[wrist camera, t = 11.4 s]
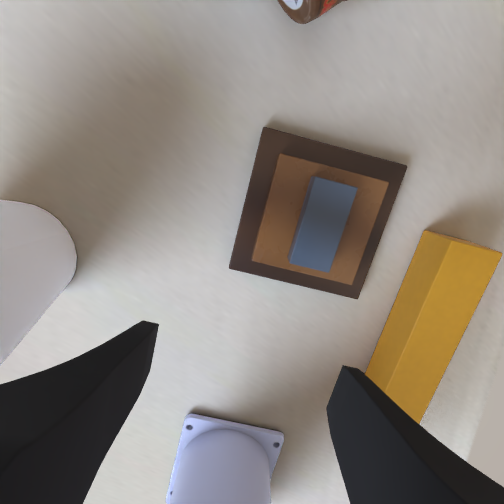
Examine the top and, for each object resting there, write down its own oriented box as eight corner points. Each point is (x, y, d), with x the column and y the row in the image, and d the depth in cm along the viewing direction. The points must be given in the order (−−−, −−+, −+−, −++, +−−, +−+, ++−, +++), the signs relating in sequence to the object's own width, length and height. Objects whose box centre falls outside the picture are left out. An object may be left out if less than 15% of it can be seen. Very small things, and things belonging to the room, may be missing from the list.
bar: (391, 408, 24) (410, 442, 21) (353, 400, 24) (367, 432, 21) (468, 241, 20) (504, 253, 17) (423, 229, 20) (452, 239, 17)
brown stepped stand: (354, 295, 21) (371, 316, 18) (229, 265, 21) (225, 282, 18) (401, 165, 19) (430, 165, 16) (262, 128, 19) (264, 120, 15)
